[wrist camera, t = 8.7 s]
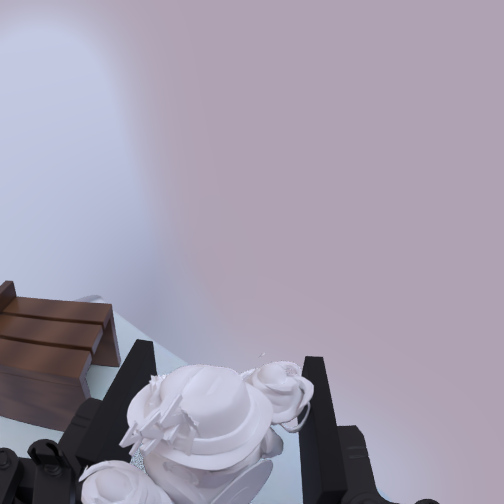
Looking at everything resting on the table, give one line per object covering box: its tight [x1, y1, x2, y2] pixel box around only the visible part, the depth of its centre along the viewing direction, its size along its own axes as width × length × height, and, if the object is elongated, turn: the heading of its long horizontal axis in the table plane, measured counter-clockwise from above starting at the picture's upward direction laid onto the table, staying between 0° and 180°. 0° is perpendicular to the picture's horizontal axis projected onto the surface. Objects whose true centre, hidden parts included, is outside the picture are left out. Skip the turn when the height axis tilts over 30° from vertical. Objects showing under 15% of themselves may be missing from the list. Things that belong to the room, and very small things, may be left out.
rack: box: [0, 281, 121, 432], centre depth 27 cm, size 14×12×10 cm
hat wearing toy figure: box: [79, 353, 314, 504], centre depth 9 cm, size 9×4×12 cm, turn 140°
